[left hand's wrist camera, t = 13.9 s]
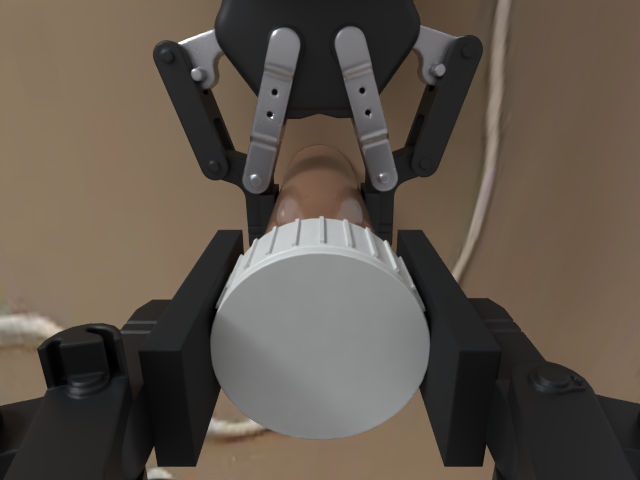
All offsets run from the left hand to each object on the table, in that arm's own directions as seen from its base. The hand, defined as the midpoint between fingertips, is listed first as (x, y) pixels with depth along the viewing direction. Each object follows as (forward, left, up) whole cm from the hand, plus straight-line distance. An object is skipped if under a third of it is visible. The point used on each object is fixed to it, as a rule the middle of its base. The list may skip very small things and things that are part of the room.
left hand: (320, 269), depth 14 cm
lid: (0, 0, +4) cm, 4 cm away
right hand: (-3, 0, -7) cm, 8 cm away
